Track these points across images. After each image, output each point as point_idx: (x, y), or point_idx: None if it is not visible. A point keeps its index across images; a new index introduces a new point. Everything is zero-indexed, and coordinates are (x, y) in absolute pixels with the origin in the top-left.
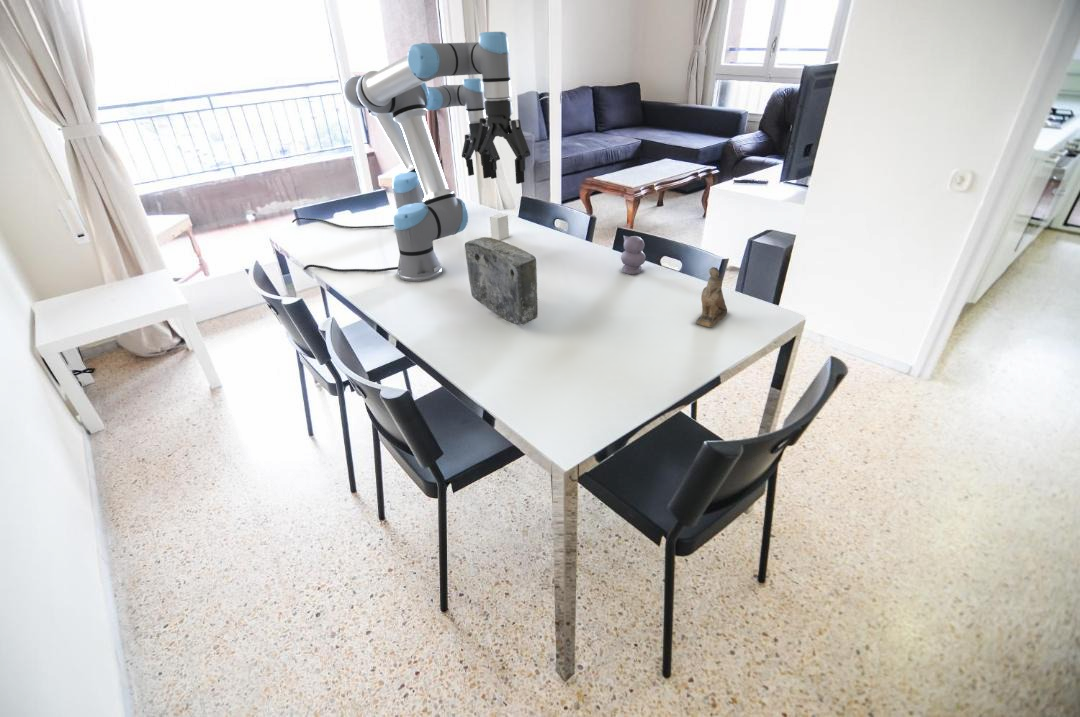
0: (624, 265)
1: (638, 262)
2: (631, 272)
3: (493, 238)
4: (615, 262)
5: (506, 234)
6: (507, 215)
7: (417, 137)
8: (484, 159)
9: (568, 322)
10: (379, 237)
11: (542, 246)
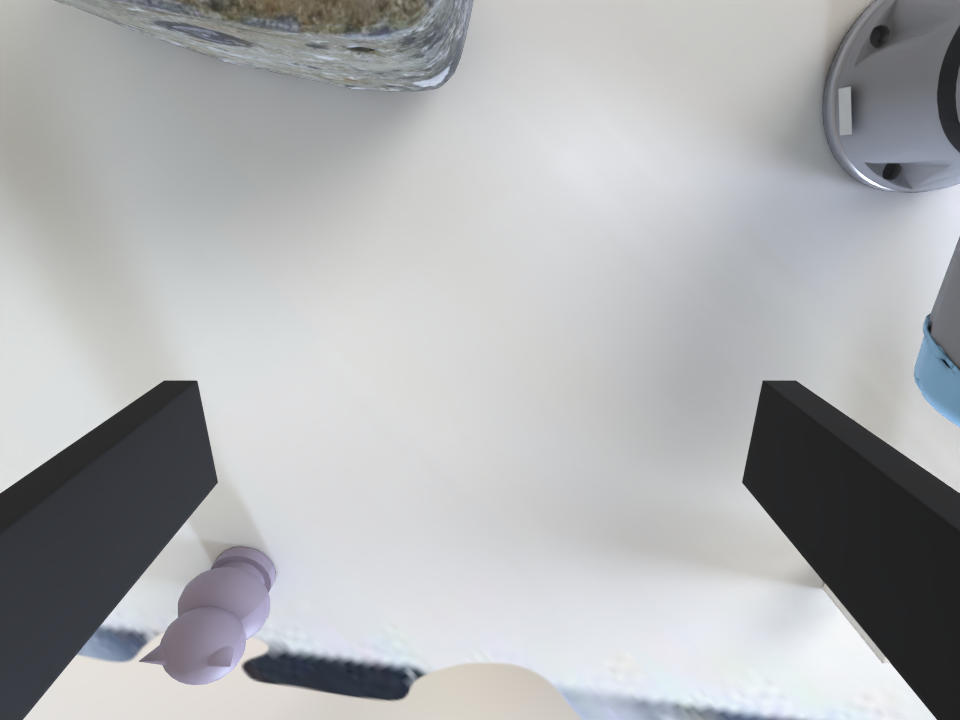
0: (267, 577)
1: (186, 586)
2: (224, 553)
3: None
4: (336, 596)
5: None
6: (881, 661)
7: None
8: (954, 556)
9: (77, 123)
10: None
11: (642, 580)
